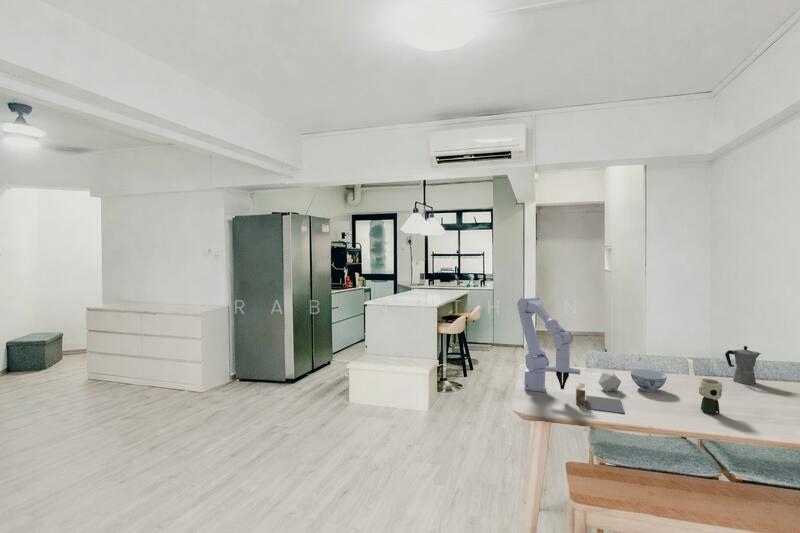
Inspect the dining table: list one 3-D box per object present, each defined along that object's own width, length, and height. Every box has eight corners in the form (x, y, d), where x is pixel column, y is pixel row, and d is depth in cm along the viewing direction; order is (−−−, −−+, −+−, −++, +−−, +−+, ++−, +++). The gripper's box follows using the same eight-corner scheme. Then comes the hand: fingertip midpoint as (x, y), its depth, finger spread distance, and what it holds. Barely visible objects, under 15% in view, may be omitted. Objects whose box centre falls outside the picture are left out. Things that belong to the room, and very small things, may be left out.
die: (618, 396, 196) (626, 376, 198) (600, 385, 197) (609, 366, 200) (610, 396, 204) (617, 378, 206) (592, 386, 205) (600, 368, 208)
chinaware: (646, 396, 193) (646, 379, 193) (622, 385, 208) (623, 370, 207) (674, 393, 196) (675, 377, 196) (649, 383, 211) (649, 368, 211)
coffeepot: (753, 379, 215) (754, 344, 214) (765, 385, 206) (767, 348, 205) (719, 378, 218) (720, 343, 217) (729, 384, 209) (730, 347, 208)
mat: (587, 409, 179) (587, 408, 179) (586, 396, 194) (586, 395, 194) (624, 413, 174) (624, 412, 174) (620, 400, 189) (620, 399, 189)
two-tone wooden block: (576, 405, 184) (576, 389, 183) (576, 398, 192) (576, 382, 192) (585, 406, 183) (585, 390, 182) (584, 399, 191) (584, 383, 190)
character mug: (706, 417, 170) (707, 384, 169) (691, 410, 177) (692, 379, 176) (729, 414, 172) (730, 383, 171) (713, 408, 179) (714, 377, 178)
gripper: (544, 359, 188) (544, 389, 189) (580, 362, 183) (580, 393, 183) (545, 355, 195) (545, 384, 195) (580, 358, 189) (579, 388, 190)
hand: (562, 388), depth 190 cm, fingers closed
